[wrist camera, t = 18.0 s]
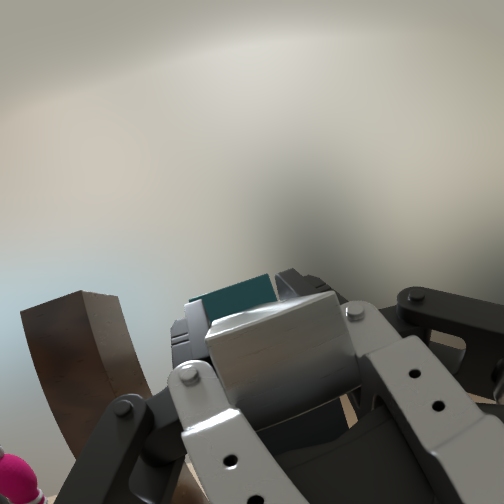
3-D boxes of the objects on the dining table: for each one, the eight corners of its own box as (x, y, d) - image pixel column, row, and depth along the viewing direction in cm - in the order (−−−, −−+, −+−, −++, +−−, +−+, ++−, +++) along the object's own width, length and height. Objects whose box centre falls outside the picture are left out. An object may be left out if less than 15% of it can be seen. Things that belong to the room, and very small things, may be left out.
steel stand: (319, 591, 8) (215, 422, 11) (292, 534, 18) (215, 375, 21) (383, 563, 9) (333, 376, 12) (343, 514, 19) (285, 350, 22)
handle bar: (200, 449, 5) (133, 277, 6) (212, 351, 20) (195, 302, 21) (398, 365, 6) (346, 210, 6) (274, 330, 21) (256, 281, 22)
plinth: (152, 558, 15) (19, 311, 19) (162, 515, 24) (65, 313, 29) (215, 553, 16) (80, 289, 21) (213, 508, 26) (117, 296, 31)
